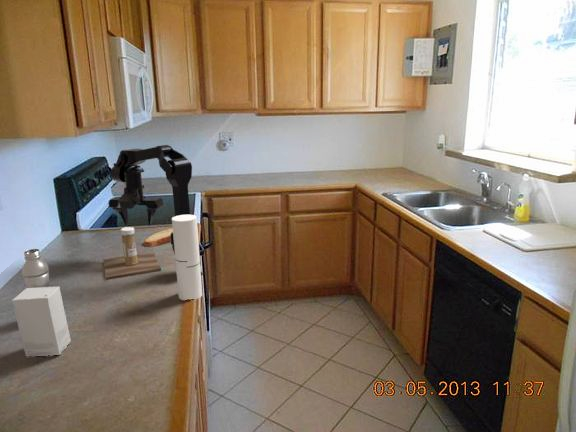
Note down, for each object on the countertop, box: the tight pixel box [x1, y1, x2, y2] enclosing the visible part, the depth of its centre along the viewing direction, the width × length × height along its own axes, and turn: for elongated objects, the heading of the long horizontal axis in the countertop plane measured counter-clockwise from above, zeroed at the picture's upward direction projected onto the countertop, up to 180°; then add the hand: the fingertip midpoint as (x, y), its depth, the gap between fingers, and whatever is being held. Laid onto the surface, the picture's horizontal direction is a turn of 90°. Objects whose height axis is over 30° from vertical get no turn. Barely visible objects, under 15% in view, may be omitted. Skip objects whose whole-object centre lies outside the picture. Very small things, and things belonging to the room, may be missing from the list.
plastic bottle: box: [21, 248, 51, 288], centre depth 115 cm, size 6×7×20 cm
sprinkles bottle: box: [120, 226, 138, 266], centre depth 152 cm, size 5×5×13 cm
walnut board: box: [103, 251, 162, 281], centre depth 154 cm, size 18×18×1 cm
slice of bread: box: [143, 227, 173, 248], centre depth 182 cm, size 18×18×4 cm
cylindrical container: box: [171, 214, 203, 301], centre depth 128 cm, size 7×7×25 cm
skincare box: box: [11, 286, 72, 357], centre depth 101 cm, size 8×7×16 cm
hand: (138, 224), depth 158 cm, fingers open, 9 cm apart
